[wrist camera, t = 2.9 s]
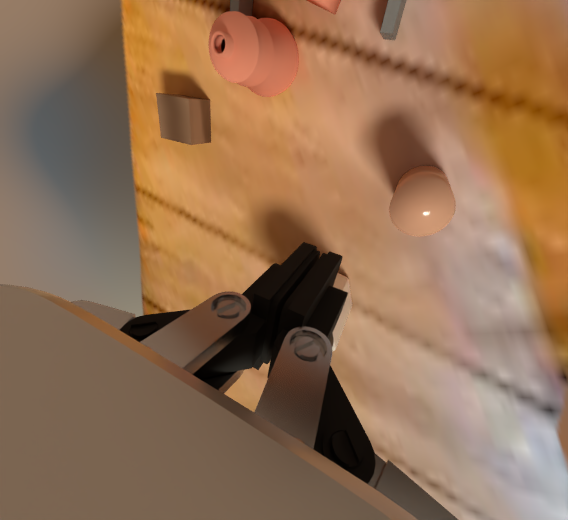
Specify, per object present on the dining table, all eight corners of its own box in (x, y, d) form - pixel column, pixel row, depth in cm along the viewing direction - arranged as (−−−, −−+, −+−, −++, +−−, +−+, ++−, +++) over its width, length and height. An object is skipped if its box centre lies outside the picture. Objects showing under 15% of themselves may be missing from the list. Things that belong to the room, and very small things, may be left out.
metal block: (210, 100, 34) (188, 98, 31) (211, 142, 37) (191, 144, 33) (180, 94, 35) (156, 93, 32) (183, 135, 38) (161, 137, 35)
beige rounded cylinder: (458, 172, 26) (467, 187, 21) (436, 218, 29) (438, 243, 23) (406, 160, 28) (401, 172, 22) (389, 206, 30) (381, 226, 25)
